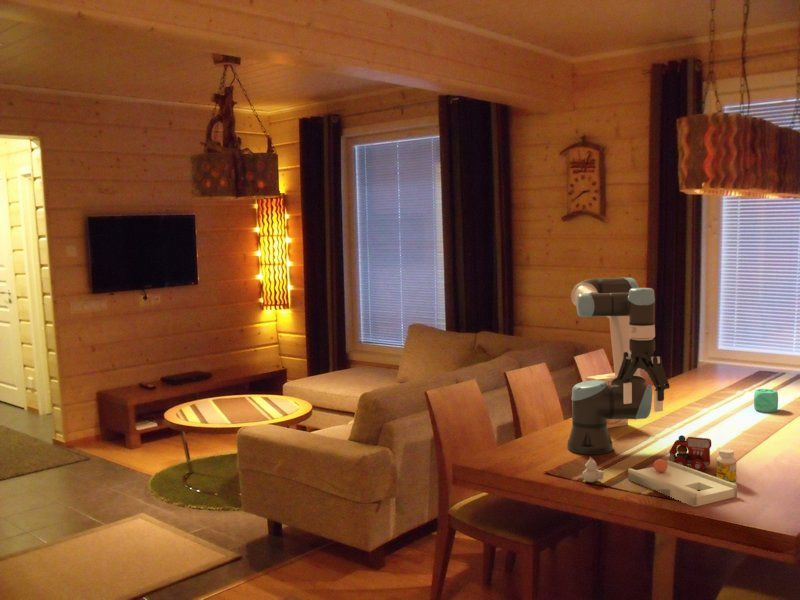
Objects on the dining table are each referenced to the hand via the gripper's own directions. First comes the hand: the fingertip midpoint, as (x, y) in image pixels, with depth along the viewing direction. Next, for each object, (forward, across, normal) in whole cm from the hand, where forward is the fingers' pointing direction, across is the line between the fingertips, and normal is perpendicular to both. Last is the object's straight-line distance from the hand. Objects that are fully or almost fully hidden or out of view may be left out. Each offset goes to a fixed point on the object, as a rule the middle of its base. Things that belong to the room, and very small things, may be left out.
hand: (642, 407), depth 235 cm
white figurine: (+21, -2, -18) cm, 28 cm away
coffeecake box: (+20, -50, +28) cm, 61 cm away
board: (+21, +16, -1) cm, 26 cm away
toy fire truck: (+21, +4, +15) cm, 26 cm away
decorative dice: (+20, -33, +96) cm, 104 cm away
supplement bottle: (+21, +19, +14) cm, 32 cm away
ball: (+16, +8, -1) cm, 18 cm away
